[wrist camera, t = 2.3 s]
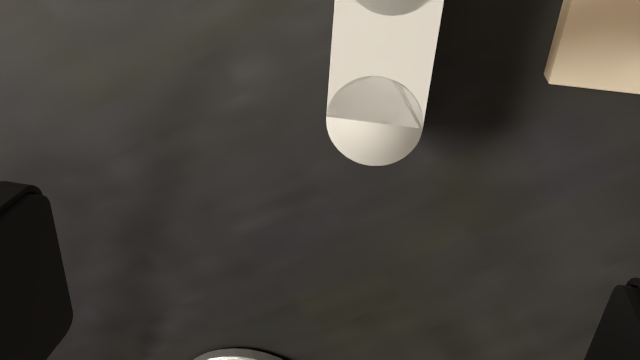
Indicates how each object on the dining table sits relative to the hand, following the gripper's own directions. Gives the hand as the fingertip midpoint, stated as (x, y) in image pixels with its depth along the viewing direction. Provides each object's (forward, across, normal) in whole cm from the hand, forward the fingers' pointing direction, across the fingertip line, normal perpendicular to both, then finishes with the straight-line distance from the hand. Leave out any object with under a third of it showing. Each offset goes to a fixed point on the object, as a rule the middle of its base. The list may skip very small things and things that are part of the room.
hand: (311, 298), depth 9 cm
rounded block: (+22, 0, 0) cm, 22 cm away
